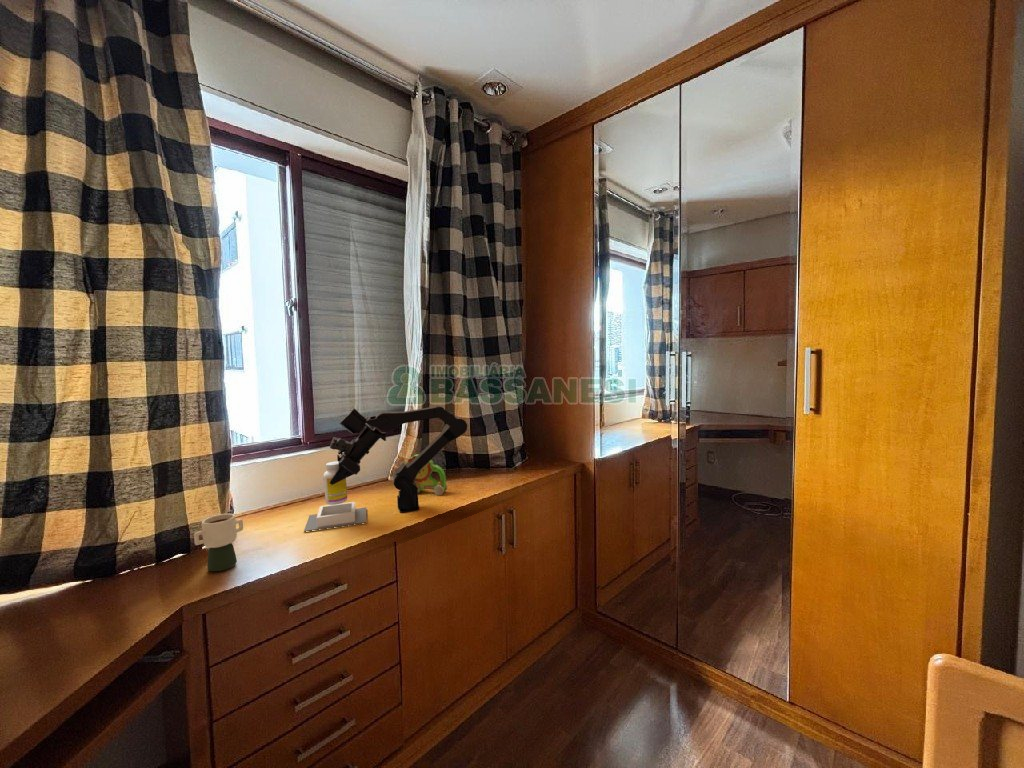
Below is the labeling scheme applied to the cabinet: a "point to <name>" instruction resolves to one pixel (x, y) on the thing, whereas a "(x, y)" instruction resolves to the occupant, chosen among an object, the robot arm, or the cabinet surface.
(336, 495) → the supplement bottle
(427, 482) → the toy lion
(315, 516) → the holder
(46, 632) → the cabinet surface
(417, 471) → the robot arm
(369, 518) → the cabinet surface
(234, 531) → the white green trophy cup
